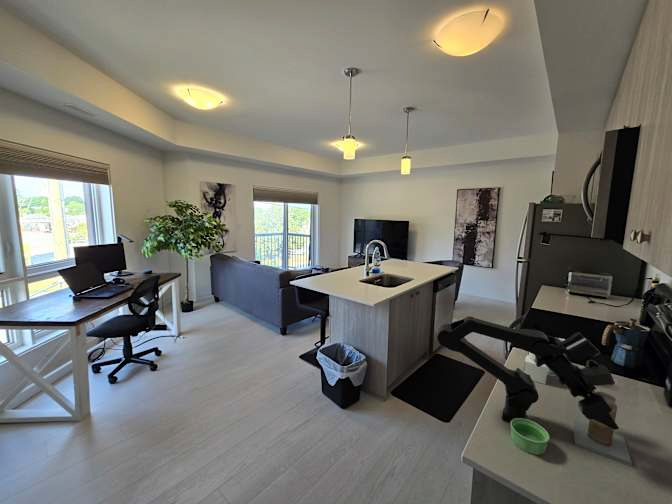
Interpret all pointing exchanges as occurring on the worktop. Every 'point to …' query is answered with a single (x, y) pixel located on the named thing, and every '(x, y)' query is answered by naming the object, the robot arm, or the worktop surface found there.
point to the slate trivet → (613, 451)
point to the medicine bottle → (535, 369)
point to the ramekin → (529, 436)
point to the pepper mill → (599, 430)
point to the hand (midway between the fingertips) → (609, 417)
